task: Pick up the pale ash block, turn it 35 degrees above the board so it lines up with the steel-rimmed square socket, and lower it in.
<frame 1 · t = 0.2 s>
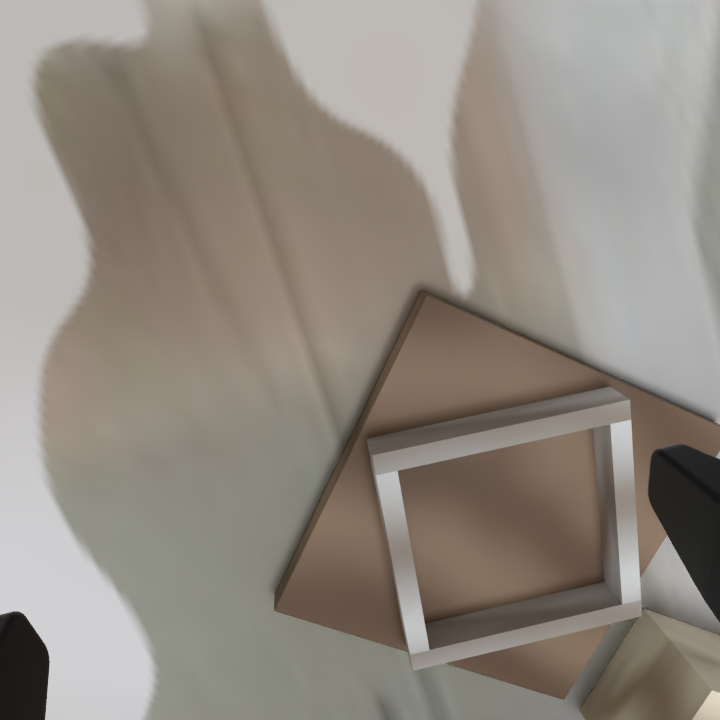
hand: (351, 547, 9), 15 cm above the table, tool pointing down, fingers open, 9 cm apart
socket board: (495, 508, 27), on the table
ash block: (661, 674, 31), on the table
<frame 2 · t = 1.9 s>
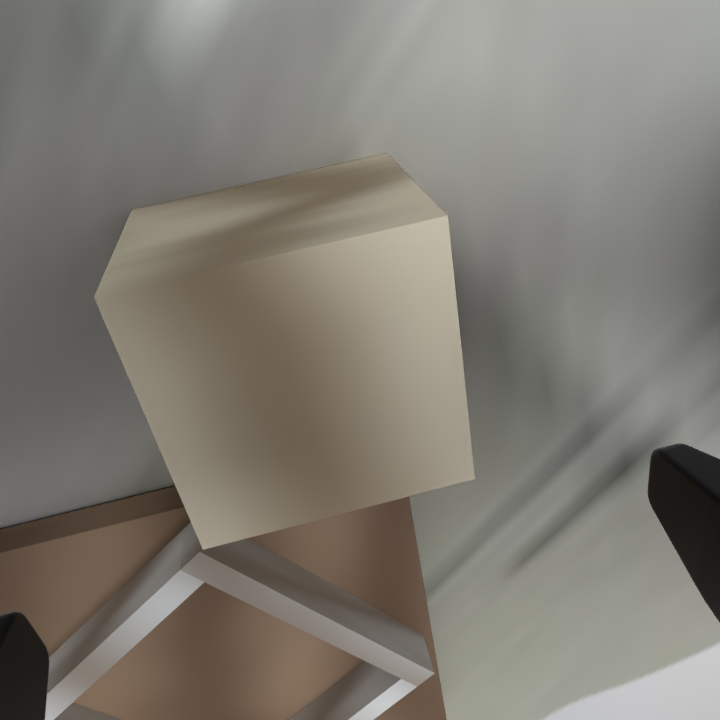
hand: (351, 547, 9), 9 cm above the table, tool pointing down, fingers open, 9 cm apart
socket board: (225, 638, 22), on the table
ash block: (289, 294, 16), on the table
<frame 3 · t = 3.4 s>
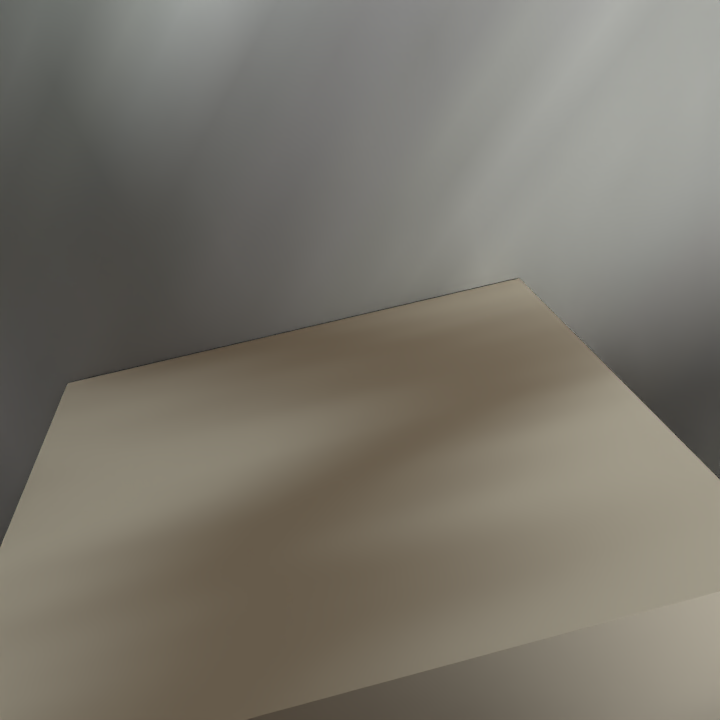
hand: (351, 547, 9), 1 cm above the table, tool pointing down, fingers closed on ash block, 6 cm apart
ash block: (340, 497, 10), on the table, touching gripper
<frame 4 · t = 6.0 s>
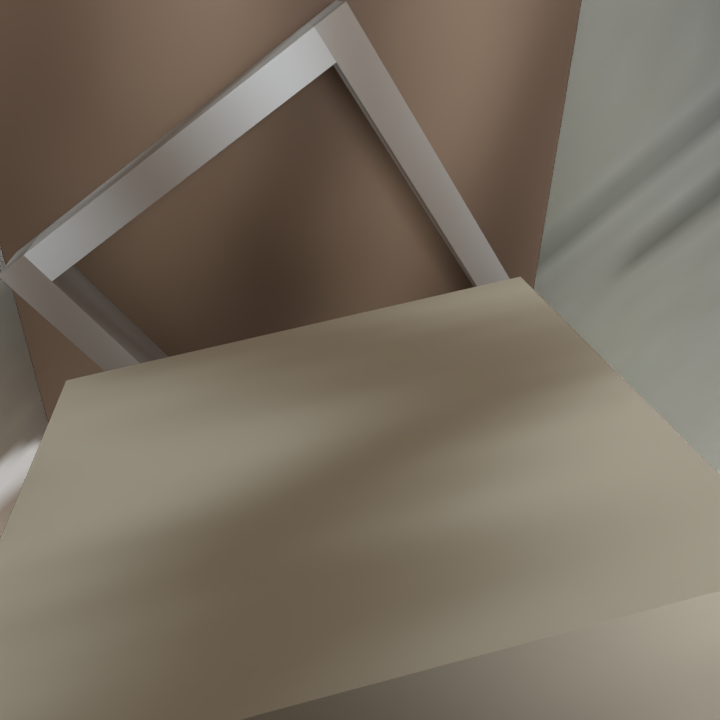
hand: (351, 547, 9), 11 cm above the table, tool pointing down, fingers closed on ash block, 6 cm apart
socket board: (289, 269, 18), on the table
ash block: (339, 496, 10), point 10 cm above the table, touching gripper
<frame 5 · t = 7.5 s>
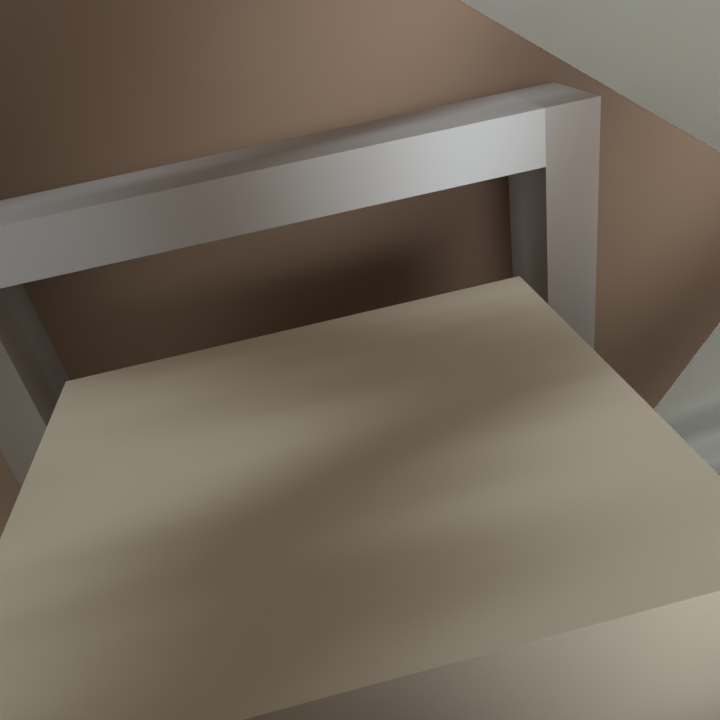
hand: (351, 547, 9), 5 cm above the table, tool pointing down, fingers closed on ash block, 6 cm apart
socket board: (309, 375, 13), on the table
ash block: (339, 496, 10), point 4 cm above the table, touching gripper
when the fingers open (4 cm above the table, at t = 8.6 s): ash block drops 2 cm, resting on socket board.
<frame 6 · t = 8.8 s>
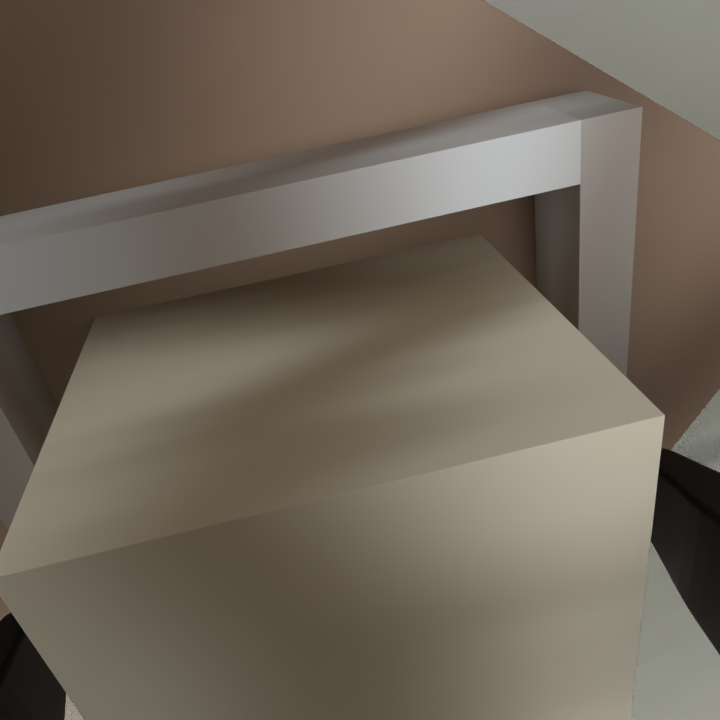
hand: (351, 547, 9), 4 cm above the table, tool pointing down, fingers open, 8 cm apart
socket board: (317, 400, 12), on the table
ash block: (327, 428, 11), point 1 cm above the table, touching socket board
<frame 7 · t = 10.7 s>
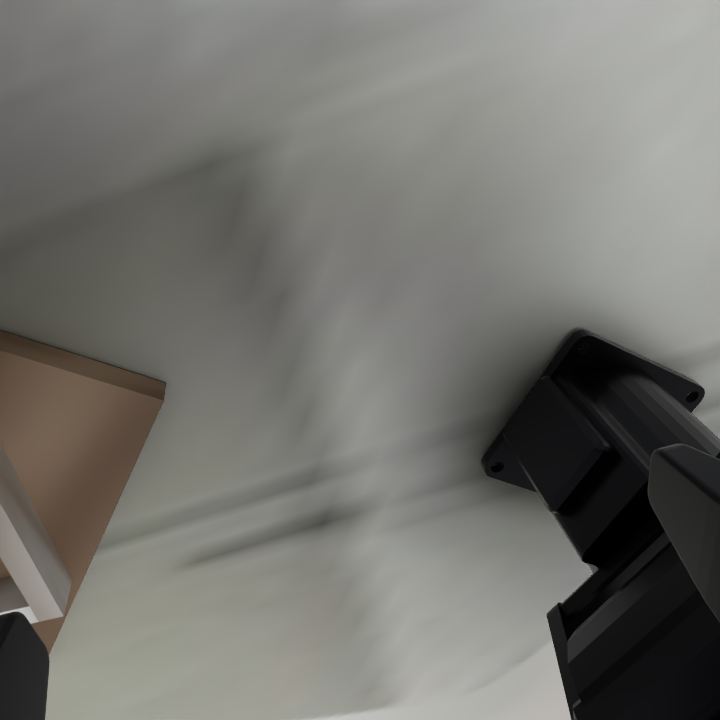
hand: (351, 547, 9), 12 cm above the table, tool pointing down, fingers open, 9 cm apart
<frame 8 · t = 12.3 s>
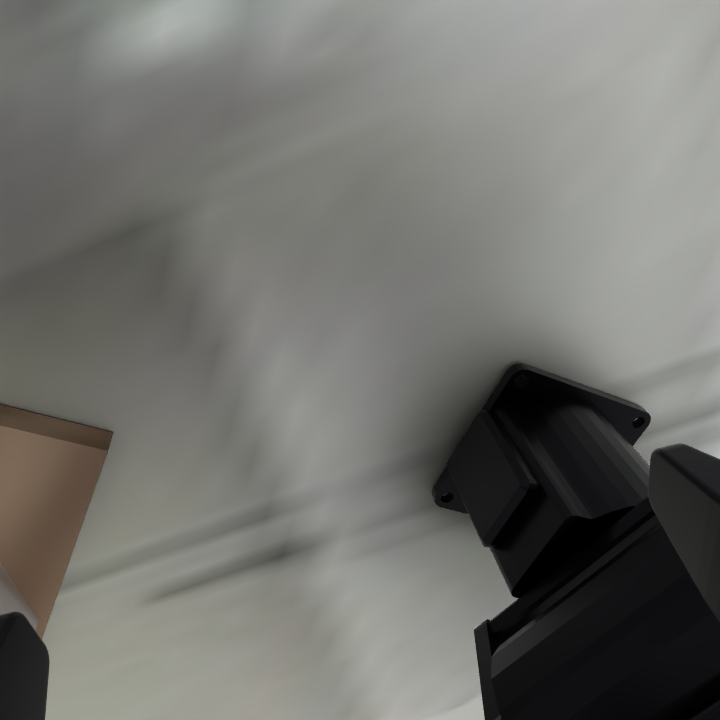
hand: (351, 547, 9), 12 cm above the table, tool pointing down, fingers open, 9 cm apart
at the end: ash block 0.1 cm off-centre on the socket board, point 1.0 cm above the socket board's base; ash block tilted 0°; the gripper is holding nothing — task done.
